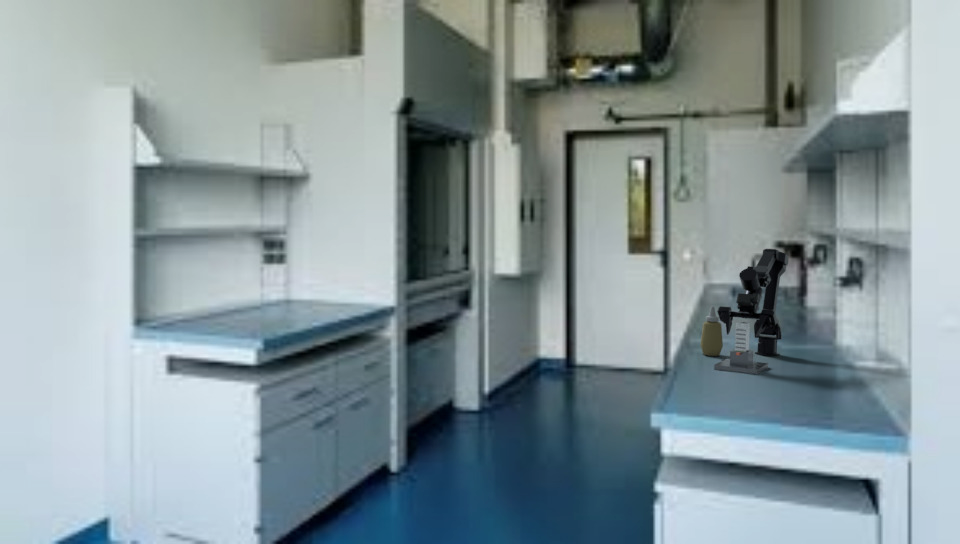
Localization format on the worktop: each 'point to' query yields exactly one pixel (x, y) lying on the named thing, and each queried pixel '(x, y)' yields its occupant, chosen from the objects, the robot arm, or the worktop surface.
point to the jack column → (742, 336)
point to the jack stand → (741, 363)
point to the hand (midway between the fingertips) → (741, 335)
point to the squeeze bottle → (711, 335)
